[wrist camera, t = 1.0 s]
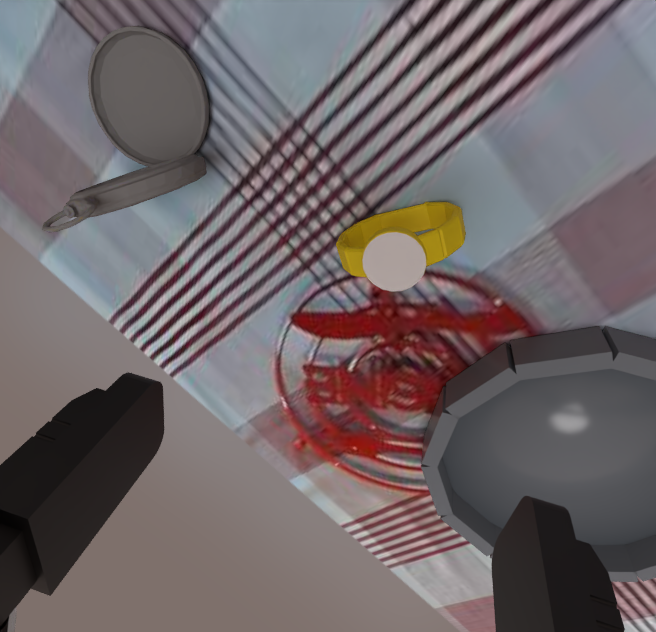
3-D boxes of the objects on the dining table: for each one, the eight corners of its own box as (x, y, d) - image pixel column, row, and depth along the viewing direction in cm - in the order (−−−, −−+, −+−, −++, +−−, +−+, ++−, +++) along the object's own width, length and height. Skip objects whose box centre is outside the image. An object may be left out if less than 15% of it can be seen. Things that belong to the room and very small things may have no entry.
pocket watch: (130, -6, 22) (-69, -40, 14) (263, 118, 24) (156, 155, 15) (73, 129, 27) (-105, 166, 18) (190, 228, 28) (73, 304, 20)
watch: (454, 179, 23) (464, 212, 18) (463, 231, 24) (476, 276, 19) (341, 210, 25) (321, 247, 20) (355, 256, 26) (339, 304, 21)
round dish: (834, 385, 23) (871, 419, 21) (646, 577, 33) (659, 613, 31) (479, 293, 25) (481, 315, 23) (399, 498, 35) (395, 527, 33)
